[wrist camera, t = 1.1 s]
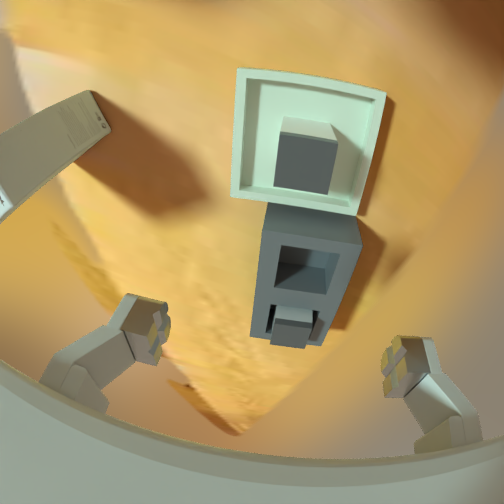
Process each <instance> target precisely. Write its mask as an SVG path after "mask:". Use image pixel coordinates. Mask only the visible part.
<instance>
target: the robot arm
mask: <svg viewBox="0 0 504 504" xmlns="http://www.w3.org/2000/svg"><path fill="white" fill-rule="evenodd" d="M167 311H168V305H167V303H166V302H162V301H158V300H154V299H150V298H146V297H142V296H138V295H134V294H130V293H127V294H126V295H125V296H124V297H123V299H122V300H121V302H120V304H119V305H118V307H117V309H116V310H115V312H114V314H113V315H112V317H111V319H110V321H109V322H108V324H107V326H104V325H102V326H101V327H99V328H97V329H96V330H94V331H92V332H91V333H89V334H87V335H86V336H84V337H82V338H80V339H79V340H77V341H75V342H74V343H72V344H70V345H69V346H67V347H65V348H63V349H62V350H60V351H59V352H57V353H55V354H54V356H53V357H52V359H51V361H50V362H49V364H48V366H47V368H46V369H45V371H44V373H43V375H42V377H41V378H40V380H39V382H37V381H35V380H34V379H32V378H30V377H28V376H26V375H25V374H23V373H22V372H20V371H18V370H17V369H15V368H13V367H12V366H10V365H8V364H7V363H6V362H4V361H2V360H1V359H0V504H504V435H501V436H497V437H494V438H491V439H487V440H483V438H482V431H481V426H480V421H479V416H478V412H477V410H476V409H475V408H474V407H473V405H472V404H471V403H470V402H469V401H468V399H467V398H466V397H465V396H464V395H463V394H462V392H461V391H460V390H459V389H458V388H457V386H456V385H455V384H454V383H453V382H452V381H451V379H450V378H449V377H448V376H447V375H446V374H445V373H442V370H441V366H440V363H439V359H438V355H437V352H436V348H435V345H434V341H433V339H432V338H429V337H418V336H399V335H397V336H395V337H394V338H393V340H392V341H391V343H392V346H390V347H388V348H387V349H386V350H385V351H384V353H383V355H382V359H381V372H382V373H383V375H384V376H385V377H386V378H385V379H384V381H383V390H384V397H385V398H403V400H404V401H405V403H406V404H407V406H408V408H409V409H410V411H411V412H412V414H413V416H414V417H415V419H416V421H417V422H418V424H419V426H420V427H421V429H422V431H423V432H424V434H425V435H424V436H422V437H421V438H419V439H418V440H416V441H415V443H414V451H415V454H413V455H404V456H395V457H383V458H365V459H312V458H295V457H283V456H273V455H264V454H257V453H249V452H243V451H236V450H231V449H225V448H220V447H215V446H210V445H205V444H201V443H196V442H192V441H188V440H184V439H180V438H177V437H173V436H169V435H165V434H162V433H159V432H155V431H152V430H149V429H146V428H143V427H140V426H137V425H134V424H131V423H128V422H125V421H123V420H120V419H117V418H115V417H112V416H109V415H107V414H105V412H106V410H107V407H108V405H109V401H108V399H107V398H106V396H105V395H104V394H103V392H102V391H101V389H103V388H104V387H105V386H106V385H108V384H109V383H110V382H111V381H113V380H114V379H115V378H116V377H118V376H119V375H120V374H121V373H123V372H124V371H125V370H126V369H128V368H129V367H130V366H131V365H132V364H134V363H135V361H138V362H142V363H146V364H150V365H154V366H157V364H158V362H159V359H160V357H161V354H162V352H163V351H162V347H161V345H162V344H164V343H165V342H167V339H168V337H169V333H170V328H171V321H170V317H169V316H168V315H167Z"/></svg>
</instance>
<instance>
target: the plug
mask: <svg viewBox="0 0 504 504" xmlns="http://www.w3.org/2000/svg"><path fill="white" fill-rule="evenodd" d="M337 149H338V142H337V139H336V137H335V134H334V132H333V129H332V127H331V125H330V123H325V122H320V121H314V120H308V119H301V118H295V117H288V116H284V117H283V121H282V125H281V130H280V134H279V143H278V151H277V160H276V168H275V176H274V184H273V187H280V188H287V189H293V190H300V191H306V192H312V193H318V194H324V195H328V191H329V187H330V182H331V178H332V173H333V168H334V164H335V159H336V154H337Z"/></svg>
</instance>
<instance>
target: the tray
mask: <svg viewBox="0 0 504 504" xmlns="http://www.w3.org/2000/svg"><path fill="white" fill-rule="evenodd" d="M386 94H387V93H386V92H384V91H382V90H379V89H375V88H371V87H368V86H364V85H359V84H355V83H351V82H346V81H341V80H337V79H332V78H326V77H321V76H315V75H309V74H302V73H295V72H288V71H280V70H270V69H260V68H246V67H240V68H237V78H236V93H235V110H234V128H233V147H232V167H231V190H230V197H235V198H243V199H250V200H258V201H265V202H272V203H279V204H286V205H292V206H299V207H305V208H311V209H318V210H324V211H330V212H335V213H341V214H347V215H352V216H356V214H357V211H358V207H359V204H360V201H361V197H362V194H363V190H364V187H365V183H366V179H367V176H368V172H369V168H370V164H371V161H372V157H373V153H374V149H375V144H376V140H377V136H378V132H379V127H380V123H381V118H382V114H383V109H384V104H385V99H386ZM284 116H288V117H295V118H301V119H308V120H314V121H320V122H325V123H330V125H331V127H332V129H333V132H334V134H335V137H336V139H337V142H338V149H337V154H336V159H335V164H334V168H333V173H332V178H331V182H330V187H329V191H328V195H324V194H318V193H312V192H306V191H300V190H293V189H287V188H280V187H273V184H274V176H275V168H276V160H277V151H278V143H279V134H280V130H281V125H282V121H283V117H284Z"/></svg>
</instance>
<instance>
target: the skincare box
mask: <svg viewBox="0 0 504 504" xmlns="http://www.w3.org/2000/svg"><path fill="white" fill-rule="evenodd" d="M110 132H111V129H110V127H109V125H108V123H107V122H106V120H105V118H104V116H103V115H102V113H101V111H100V109H99V107H98V105H97V103H96V101H95V99H94V97H93V95H92V93H91V92H90V90H85V91H83V92H81V93H78V94H76V95H74V96H72V97H69V98H67V99H65V100H63V101H61V102H59V103H56V104H54V105H52V106H50V107H48V108H46V109H44V110H42V111H40V112H38V113H36V114H34V115H33V116H31V117H29V118H27V119H25V120H24V121H22V122H20V123H18V124H17V125H15V126H13V127H12V128H10V129H8V130H7V131H5V132H3V133H2V134H0V224H1V223H2V222H3V221H4V220H5V219H6V218H7V217H8V216H9V215H10V214H11V213H12V212H13V211H15V210H16V209H17V208H18V207H19V206H20V205H21V204H22V203H24V202H25V201H26V200H27V199H28V198H29V197H31V196H32V195H33V194H34V193H35V192H36V191H38V190H39V189H40V188H41V187H42V186H44V185H45V184H46V183H47V182H48V181H50V180H51V179H52V178H53V177H55V176H56V175H57V174H58V173H60V172H61V171H62V170H63V169H65V168H66V167H67V166H69V165H70V164H71V163H73V162H74V161H75V160H76V159H78V158H79V157H80V156H81V155H82V154H84V153H85V152H86V151H87V150H88V149H90V148H91V147H92V146H93V145H95V144H96V143H97V142H98V141H99V140H100V139H102V138H103V137H104V136H106V135H107V134H109V133H110Z"/></svg>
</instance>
